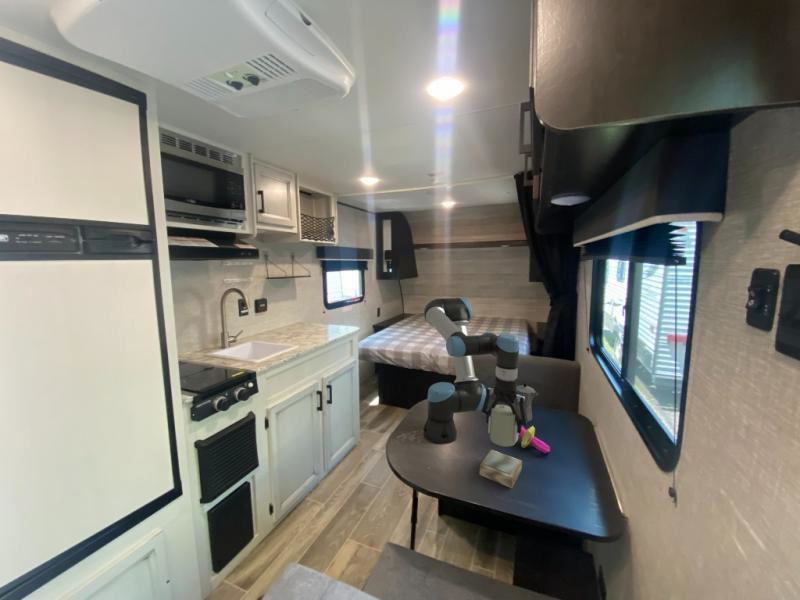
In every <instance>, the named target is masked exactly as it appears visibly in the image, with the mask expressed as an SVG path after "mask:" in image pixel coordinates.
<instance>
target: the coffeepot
mask: <svg viewBox="0 0 800 600" xmlns="http://www.w3.org/2000/svg"><path fill="white" fill-rule="evenodd" d="M516 392H517V394H518V395H520V396H523V395H524V396H525V408H526V413H527V419H528V422H531V421H533V411H532V403H533V400H534V399H535V397H536V396H538V395H539V393H538V392H537V391H536V390H535V389H534V388H533V387H530V386H528V384H527V383H526V382H525V383H523V385H517V389H516ZM514 400H516V403H515V404H516V407H517V409H518V412H519V414H520V416H521V412H520V406H519V402H518V399H517V398H515V399H514ZM521 419H522V418H521Z"/></svg>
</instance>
